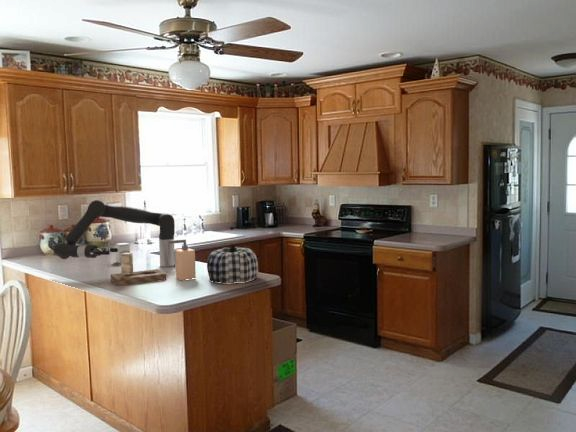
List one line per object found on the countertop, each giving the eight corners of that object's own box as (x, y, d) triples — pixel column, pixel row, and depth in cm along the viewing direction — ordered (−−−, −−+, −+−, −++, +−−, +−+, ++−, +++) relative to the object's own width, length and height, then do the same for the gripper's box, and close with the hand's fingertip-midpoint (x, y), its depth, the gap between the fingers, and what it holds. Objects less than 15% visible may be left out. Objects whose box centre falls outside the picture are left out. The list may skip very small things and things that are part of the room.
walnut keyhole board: (157, 275, 300) (157, 269, 300) (166, 279, 287) (166, 273, 287) (111, 280, 287) (110, 274, 286) (118, 285, 273) (118, 279, 273)
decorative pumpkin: (222, 287, 266) (221, 249, 264) (196, 278, 289) (195, 243, 288) (269, 280, 283) (269, 243, 281) (242, 272, 307) (241, 238, 305)
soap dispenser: (190, 276, 295) (189, 238, 293) (195, 279, 288) (194, 239, 286) (168, 279, 289) (167, 239, 287) (173, 281, 282) (172, 241, 280)
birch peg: (126, 280, 287) (124, 252, 285) (134, 280, 286) (133, 252, 284) (120, 282, 282) (119, 254, 280) (129, 282, 280) (128, 254, 279)
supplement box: (119, 263, 340) (118, 244, 339) (115, 262, 346) (115, 243, 345) (130, 262, 344) (129, 243, 343) (126, 261, 350) (126, 242, 349)
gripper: (79, 246, 288) (106, 246, 284) (94, 242, 302) (119, 242, 298) (80, 260, 289) (106, 260, 285) (95, 255, 302) (120, 255, 299)
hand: (113, 251), depth 292 cm, fingers open, 8 cm apart
